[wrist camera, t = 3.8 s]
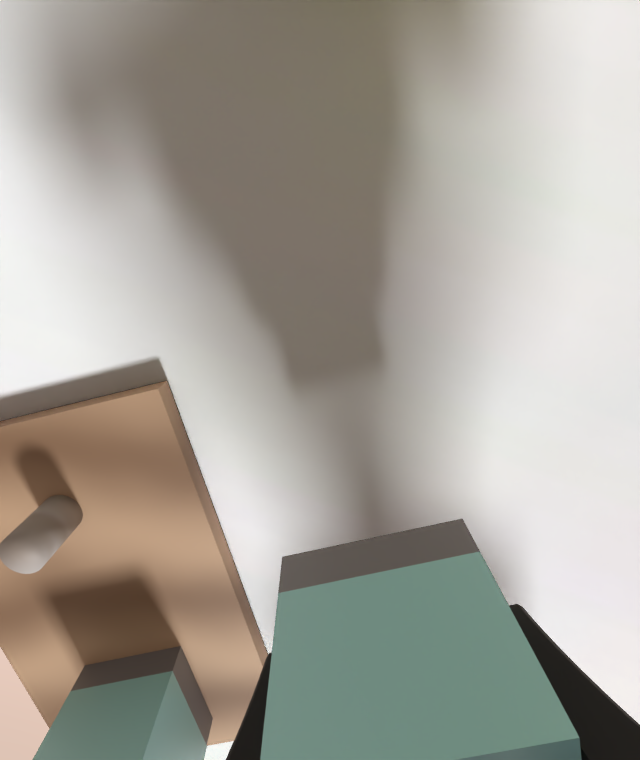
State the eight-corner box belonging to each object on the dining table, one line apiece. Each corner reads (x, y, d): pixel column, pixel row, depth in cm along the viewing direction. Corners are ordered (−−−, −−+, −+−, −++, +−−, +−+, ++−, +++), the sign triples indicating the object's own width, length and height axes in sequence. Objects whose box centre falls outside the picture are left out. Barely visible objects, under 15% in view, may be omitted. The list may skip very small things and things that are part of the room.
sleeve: (486, 657, 12) (598, 927, 7) (325, 688, 12) (330, 967, 8) (462, 518, 11) (579, 737, 6) (282, 557, 11) (256, 795, 6)
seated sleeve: (212, 718, 21) (181, 858, 16) (122, 735, 21) (65, 879, 16) (181, 645, 19) (137, 775, 15) (84, 665, 20) (10, 799, 15)
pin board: (288, 709, 22) (283, 793, 19) (84, 748, 23) (44, 835, 19) (166, 380, 17) (129, 414, 14) (-92, 443, 18) (-188, 490, 14)
